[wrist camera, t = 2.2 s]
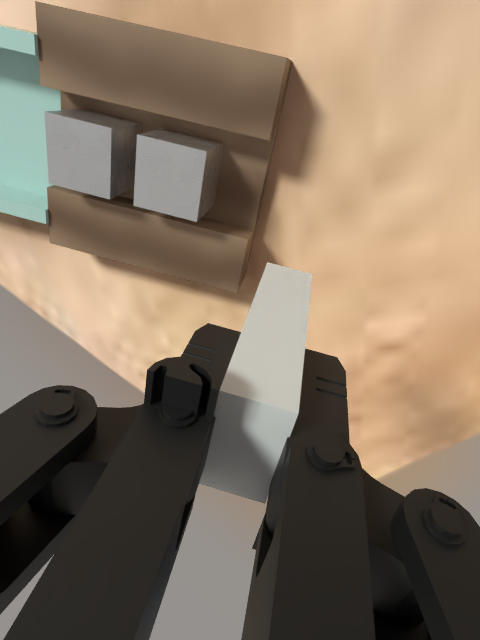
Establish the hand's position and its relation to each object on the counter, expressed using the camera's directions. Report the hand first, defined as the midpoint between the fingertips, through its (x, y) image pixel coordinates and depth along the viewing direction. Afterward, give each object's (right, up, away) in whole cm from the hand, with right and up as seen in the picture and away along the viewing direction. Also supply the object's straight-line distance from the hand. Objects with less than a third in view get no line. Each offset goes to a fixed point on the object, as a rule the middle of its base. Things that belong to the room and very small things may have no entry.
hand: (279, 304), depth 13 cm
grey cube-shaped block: (-10, +11, +13) cm, 20 cm away
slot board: (-6, +11, +14) cm, 19 cm away
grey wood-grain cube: (-5, +10, +13) cm, 17 cm away
